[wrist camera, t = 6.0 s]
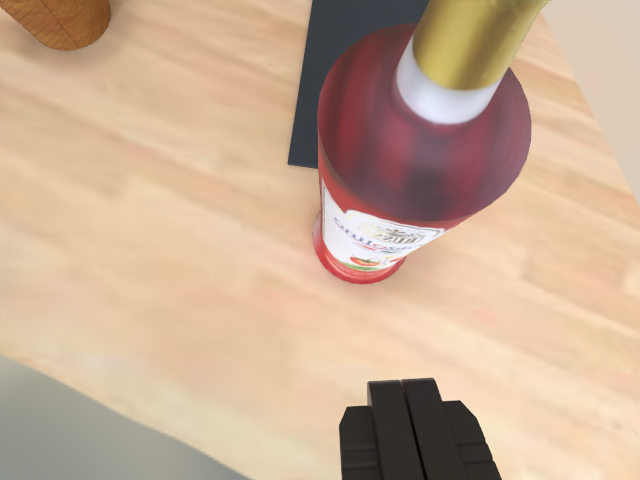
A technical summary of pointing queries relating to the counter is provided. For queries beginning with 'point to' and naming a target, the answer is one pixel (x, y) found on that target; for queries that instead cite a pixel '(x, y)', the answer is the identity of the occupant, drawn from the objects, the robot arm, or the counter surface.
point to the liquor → (419, 132)
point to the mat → (337, 56)
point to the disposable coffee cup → (61, 20)
